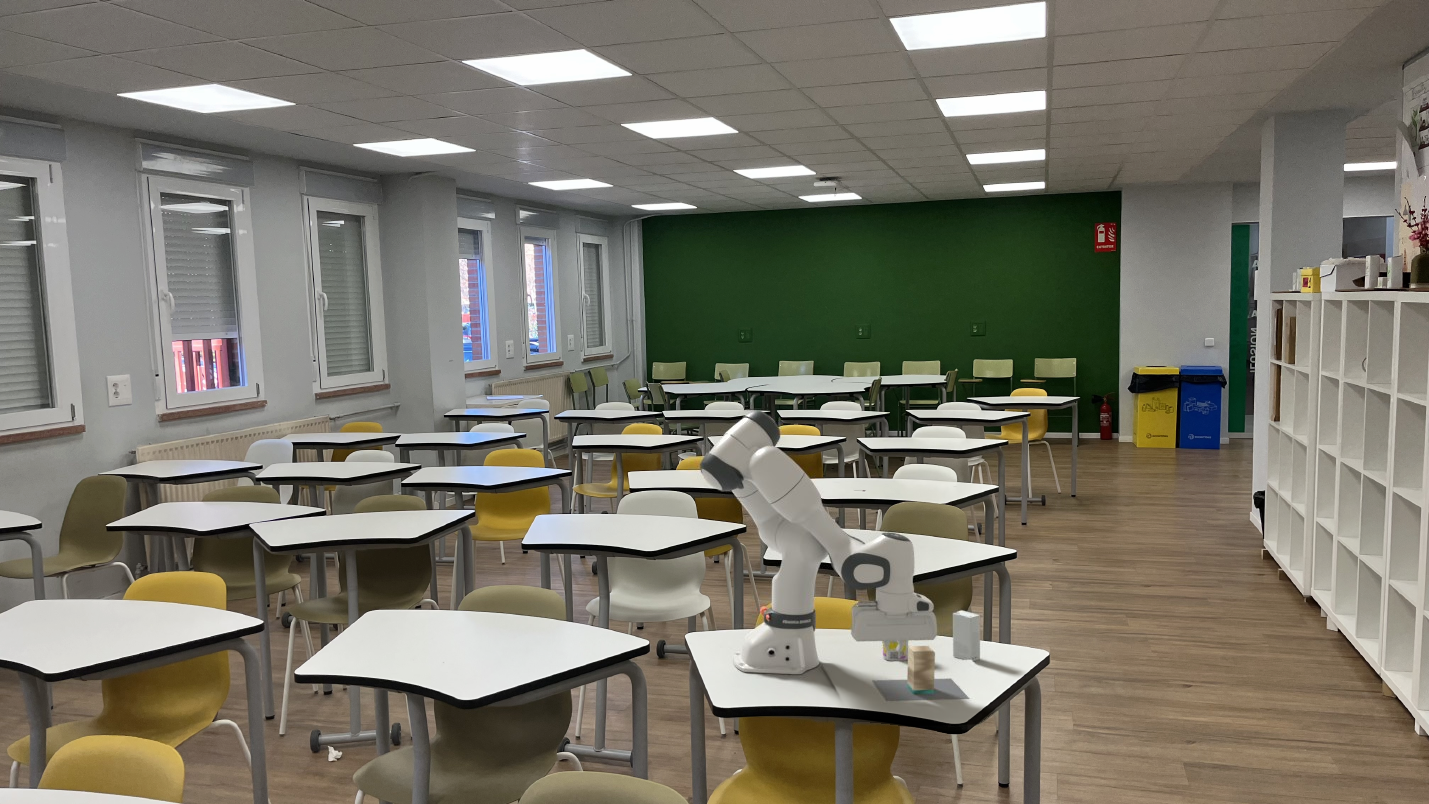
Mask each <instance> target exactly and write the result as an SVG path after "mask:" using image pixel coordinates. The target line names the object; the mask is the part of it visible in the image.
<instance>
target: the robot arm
mask: <svg viewBox="0 0 1429 804" xmlns="http://www.w3.org/2000/svg"><path fill="white" fill-rule="evenodd" d="M780 439H781V430H780V427H779V425H778V424H777V422H776V421H775V420H774V419H773V418H772V417H771V416H770V415H769V414H767V413H766V412H763V411H761V410H752V411H749V412H748V413H747V414H745V415H744V416H742V419H740V420H739V421H738V422H736V423H735V424H734V425H732V427H730V428H729V429H728V430H727V431H726V432H725V433H724V434H723V436H722V437H721V438H720V439H719V440H718V441H717V442H716V443H715V444H714V445H713V447H712V448H711V449H710V450H709V452H706V453H705V454H704V456H703V457H702V459H701V461H700V462H699V463H700V464H699V470H700V473H701V474H702V476H703V478H704V480H705V481H706V482H707V483H708V484H709V485H710V486H711V487H712V488H714V489H716V490H718V491H720V492H732V493H733V494H734V496H735V498H736V499H737V500H738V502H739V503H740V504H741V505H742V506H743V508H744V509H745V510H746V512H747V513H748V514H749V515H750V517H751V518H752V520H753V522H754V523H755V525H756V527H757V531H758V536H759V538H760V539H761V541H762V542H763V543H764V544H765V545H766V546H767V547H768V548H769V549H771V551H772V550H773V551H774V552H776V553H779V554H781V556H782V557H781V559H782V560H781V564H780V568H779V570H778V572H777V573H776V574H775V575H774V576H773V578H772V580H771V607H769V608H767V606H761V608H760V609H759V613H760V614H761V615H762V616H763V622H762V623H761V624H759V625H758V626H756V627H754V629H752V630H751V631H749V632H748V633H747V634H746V635H745V636H744V637H743V641H742V646H741V649H740V650H737V651H735V653H733V656H732V657H733V658H732V662H733V665H734V666H735V667H736V668H737V669H738V670H739V671H741V672H743V673H744V672H745V673H762V674H763V673H764V674H784V675H789V674H790V675H802V674H803V673H805V672H806V671H809V670H812V669H814V668H816V667H817V666H819V664H820V658H819V657H818V656H819V655H818V651H817V647H816V638H815V637H816V636H815V635H816V634H815V631H816V625H817V613H816V609H815V587H816V579H817V575H818V574H817V573H818V570H819V568H820V565H821V563H822V562H823V561H824V560H825V559H826V558H827V557H829V561H830V564H831V567H832V568H833V570H834V571H835V572H836V574H837V575H839V577H840V579H841V580H842V581H843V582H844V584H845V585H847V586H848V587H849V588H850V589H852V590H856V591H867V590H872V589H875V600H874V601H858V602H857V603H855V604H853V605H852V606H851V612H850V613H851V619H852V622H851V630H850V635H851V637H852V638H853V639H854V640H855V641H856V642H859V643H860V642H881V643H882V646H883V645H884V647H885V649H886V656H887V658H888V659H893V658H894V659H898V658H900V652H901V651H902V649H903V648H904V646H905V641H908V642H909V641H934V640H935V639H936V638H937V636H938V625H937V624H938V622H937V617H936V615H935V613H934V612H933V610H934V609H935V608H934V603H933V602H932V600H930V599H929V598H927V597H926V596H925V595H923V594H919V593H916V592H914V591H915V587H914V586H915V585H914V583H913V581H914V580H913V578H914V575H915V550H914V549H915V548H914V544H913V542H912V541H911V540H910V539H909V538H908V537H907V536H905V535H902V534H899V533H895V532H889V531H886V532H882V533H880V534H879V536H877V537H875V538H874V539H873V540H871V541H869V542H866V543H865V541H863V540H861V539H860V538H857V537H855V536H852V535H850V534H848V533H847V532H846V531H844V530H843V529H842V527H841V526H839V524H838V523H837V522H836V521H835V520H834V518H832V516H831V515H830V514H829V513H828V512H827V510H826V509H825V507H824V506H823V502H822V496H821V494H820V492H819V490H818V488H817V487H816V485H815V484H814V482H813V480H812V479H811V478H810V477H809V475H808V474H807V473H806V472H805V471H804V470H803V468H802V467H800V466H799V464H797V463H796V462H795V461H794V460H793V458H791V457H790V456H788V455H787V454H786V453H785V452H784V451H782V450H781V449H780V448H778V447H777V444H778V443H779V442H780ZM890 641H897V642H898V643H899V644H898V646H897V648H896V649H889V647H888V645H890Z"/></svg>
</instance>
